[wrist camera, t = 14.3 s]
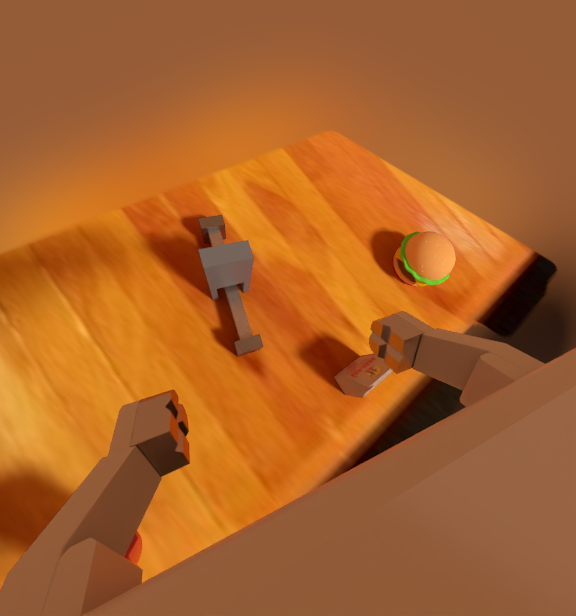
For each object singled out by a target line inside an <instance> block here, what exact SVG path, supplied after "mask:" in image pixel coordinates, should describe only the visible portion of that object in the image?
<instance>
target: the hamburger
mask: <svg viewBox="0 0 576 616" xmlns="http://www.w3.org/2000/svg"><path fill="white" fill-rule="evenodd" d="M455 259H456V258H455V252H454V248H453V246H452V244H451V243H450V242H449V241H448V240H447V239H446V238H445V237H444V236H442V235H440V234H437V233H435V232H422V233H420V232H414V233H411V234H409V235H407V236H406V237H405V238H404V240H403V241H402V243H401V247H399V248H398V249H397V251H396V252H395V254H394V258H393V265H394V269H395V271H396V273H397V275H398V276H399V277H400V278H401V279H402V280H403V281H404V282H405V283H407V284H409V285H412V286H418V287H422V286H426V285H436V284H440V283H442V282H444V281H445V280H446V279H448V277H449V273H450V271H451V270H452V268H453V266H454V264H455Z"/></svg>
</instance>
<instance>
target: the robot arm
mask: <svg viewBox="0 0 576 616" xmlns="http://www.w3.org/2000/svg"><path fill="white" fill-rule="evenodd" d="M371 330H372V331H373V333H372V334H371V336H370V337H369V345H370V348H371V350H372V351H373V353H374V354H375V355H376V356H377V357H380V358H383V359H384V361H385V364H386V365H387V366H388V367H389V368H390V369H391V370H393V371H394V372H395V373H396V374H398V373H400V372H403V371H405V370H408V369H410V368H413V369H415V370H417V371H419V372H422V373H424V374H426V375H429V376H431V377H433V378H435V379H438V380H440V381H442V382H445V383H447V384H449V385H452V386H454V387H456V388H459V389H461V390H463V393H462V395H461V397H460V402H461V403H462V404H463V405H465V406H466V408H464V409H462V410H460V411H459V412H457V413H455V414H453V415H451V416H449V417H447V418H445V419H444V420H442V421H440V422H438V423H436V424H434V425H432V426H431V427H429V428H427V429H425V430H423V431H421V432H420V433H418V434H416V435H414V436H412V437H410V438H408V439H407V440H405V441H403V442H401V443H399V444H397V445H396V446H394V447H392V448H390V449H388V450H386V451H385V452H383V453H381V454H379V455H377V456H375V457H373V458H372V459H370V460H368V461H366V462H364V463H362V464H361V465H359V466H357V467H355V468H353V469H351V470H349V471H348V472H346V473H344V474H342V475H340V476H338V477H337V478H335V479H333V480H331V481H329V482H327V483H325V484H324V485H322V486H320V487H318V488H316V489H314V490H313V491H311V492H309V493H307V494H305V495H303V496H301V497H300V498H298V499H296V500H294V501H292V502H290V503H289V504H287V505H285V506H283V507H281V508H279V509H278V510H276V511H274V512H272V513H270V514H268V515H266V516H265V517H263V518H261V519H259V520H257V521H255V522H254V523H252V524H250V525H248V526H246V527H244V528H242V529H241V530H239V531H237V532H235V533H233V534H231V535H230V536H228V537H226V538H224V539H222V540H220V541H219V542H217V543H215V544H213V545H211V546H209V547H207V548H206V549H204V550H202V551H200V552H198V553H196V554H195V555H193V556H191V557H189V558H187V559H185V560H183V561H182V562H180V563H178V564H176V565H174V566H172V567H171V568H169V569H167V570H165V571H163V572H161V573H160V574H158V575H156V576H154V577H152V578H150V579H148V580H147V581H145V582H143V583H142V571H143V570H142V569H141V568H140V567H139V566H138V565H136V564H134V563H133V562H131V561H129V560H128V559H126V558H124V556H125V554H126V552H127V550H128V548H129V546H130V544H131V542H132V539H133V537H134V535H135V533H136V531H137V529H138V527H139V525H140V523H141V521H142V519H143V516H144V514H145V512H146V510H147V508H148V506H149V504H150V502H151V500H152V498H153V496H154V494H155V491H156V489H157V487H158V485H159V483H160V481H161V479H162V478H161V477H162V476H164V475H166V474H168V473H171V472H173V471H175V470H177V469H179V468H181V467H184V466H186V465H188V464H190V456H189V443H188V441H187V439H186V435H187V434H188V432H189V428H188V420H187V415H186V412H185V409H184V407H183V405H182V404H179V403H178V395H177V393H176V392H175V390H170V391H167V392H164V393H160V394H157V395H154V396H151V397H148V398H145V399H141V400H140V401H136V402H133V403H130V404H127V405H124V406H122V408H121V409H120V411H119V415H118V419H117V423H116V426H115V430H114V434H113V438H112V442H111V446H110V450H109V454H108V456H107V457H104V458H102V459H101V460H100V461H99V463H98V464H97V465H96V466H95V468H94V469H93V470H92V471H91V472H90V474H89V475H88V476H87V477H86V479H85V480H84V481H83V482H82V483H81V485H80V486H79V487H78V488H77V490H76V491H75V492H74V493H73V495H72V496H71V497H70V498H69V499H68V501H67V502H66V503H65V504H64V506H63V507H62V508H61V509H60V510H59V512H58V513H57V514H56V515H55V517H54V518H53V519H52V520H51V521H50V523H49V524H48V525H47V526H46V528H45V529H44V530H43V531H42V532H41V534H40V535H39V536H38V537H37V539H36V540H35V541H34V542H33V543H32V545H31V546H30V547H29V548H28V550H27V551H26V552H25V553H24V555H23V556H22V557H21V558H20V559H19V561H18V562H17V563H16V564H15V566H14V567H13V568H12V569H11V570H10V572H9V573H8V575H7V577H6V579H5V581H4V584H3V586H2V588H1V591H0V616H576V348H575V349H573V350H571V351H569V352H568V353H565V354H564V355H562V356H560V357H558V358H556V359H554V360H552V361H551V362H549V363H547V364H544V363H542V362H540V361H538V360H536V359H534V358H532V357H530V356H529V355H527V354H525V353H523V352H521V351H519V350H517V349H515V348H513V347H511V346H509V345H507V344H506V343H501V342H497V341H492V340H487V339H483V338H478V337H474V336H469V335H465V334H460V333H456V332H451V331H447V330H442V329H438V328H437V329H433V328H432V327H430V326H428V325H427V324H425V323H423V322H422V321H420V320H418V319H417V318H415V317H413V316H412V315H410V314H408V313H407V312H404V311H401V312H398V313H395V314H392V315H390V316H387V317H384V318H381V319H378V320H375V321H373V322H372V324H371Z"/></svg>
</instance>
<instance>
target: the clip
mask: <svg viewBox="0 0 576 616" xmlns="http://www.w3.org/2000/svg"><path fill="white" fill-rule="evenodd" d="M198 251H199V254H200V258H201V261H202V265H203V268H204V272H205V275H206V278H207V281H208V285H209V288H210V291H211V295H212V298H213V300H216V299H219V297H218V292H217V289H218V288H222V287H227V286H231V285H235V284H239V283H240V284H241V287H242V290H243V293H244V292H248V291H249V285H250V278H251V272H252V265H253V258H254V257H253V254H252V251H251V248H250V245H249V242H248V240H247V241H241V242H236V243H230V244H225V245H220V246H214V247H209V248H204V249H198Z"/></svg>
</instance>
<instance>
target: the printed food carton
mask: <svg viewBox="0 0 576 616" xmlns="http://www.w3.org/2000/svg"><path fill="white" fill-rule="evenodd" d="M392 371H393V370H391V369H390V368H389V367H388V366H387V365H386V364H385V361H384V359H383V358H380V357H377V356H376V355H375V354H369V355H363V356H359V357H358V358H357V359H355V360H354V361H353V362H352V363H350V364H349V365H348V366H347V367H345V368H344V369H343V370H341V371H340V372H339V373H338V374H336V375H335V376H334V379H335V380H336V382H337V383H338V385H339V386H340V388H341V389H342V391H343V392H344V394H345V395H349V396H354V397H360V398H363V397H364V396H365V395H366V394H367V393H368V392H370V391H371V390H372V389H373V388H374V387H375V386H376V385H378V384H379V383H380V382H381V381H382V380H383V379H384V378H386V377H387V376H388V375H389V374H390V373H391V372H392Z"/></svg>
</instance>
